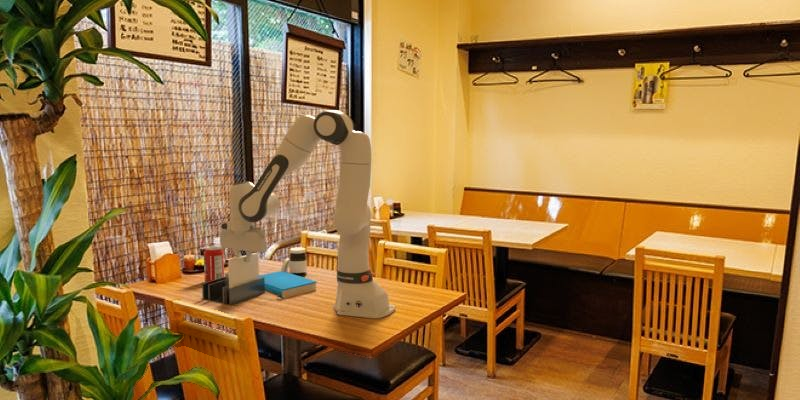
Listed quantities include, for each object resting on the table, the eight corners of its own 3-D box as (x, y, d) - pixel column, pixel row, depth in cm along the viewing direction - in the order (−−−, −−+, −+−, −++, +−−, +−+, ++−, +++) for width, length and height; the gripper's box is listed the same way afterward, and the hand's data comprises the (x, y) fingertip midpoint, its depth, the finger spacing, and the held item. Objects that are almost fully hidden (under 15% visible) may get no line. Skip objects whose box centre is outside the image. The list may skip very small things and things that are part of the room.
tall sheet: (259, 293, 212) (258, 253, 210) (232, 303, 199) (231, 260, 197) (256, 292, 212) (255, 252, 210) (229, 302, 200) (228, 259, 198)
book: (281, 270, 238) (317, 280, 221) (282, 280, 239) (317, 290, 221) (247, 277, 226) (281, 288, 209) (247, 287, 226) (281, 299, 209)
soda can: (218, 285, 227) (217, 250, 225) (201, 284, 228) (199, 249, 226) (227, 280, 234) (226, 246, 233) (210, 279, 236) (209, 245, 234)
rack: (266, 295, 213) (265, 270, 211) (232, 308, 197) (231, 281, 196) (235, 290, 220) (234, 265, 219) (200, 301, 204) (199, 275, 203)
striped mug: (307, 276, 242) (307, 250, 240) (281, 277, 239) (280, 251, 238) (305, 270, 253) (305, 245, 252) (281, 271, 251) (280, 246, 249)
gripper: (269, 226, 200) (270, 262, 202) (228, 221, 210) (230, 256, 212) (257, 228, 195) (258, 266, 197) (216, 224, 204) (217, 260, 206)
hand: (243, 261), depth 204 cm, fingers open, 2 cm apart
